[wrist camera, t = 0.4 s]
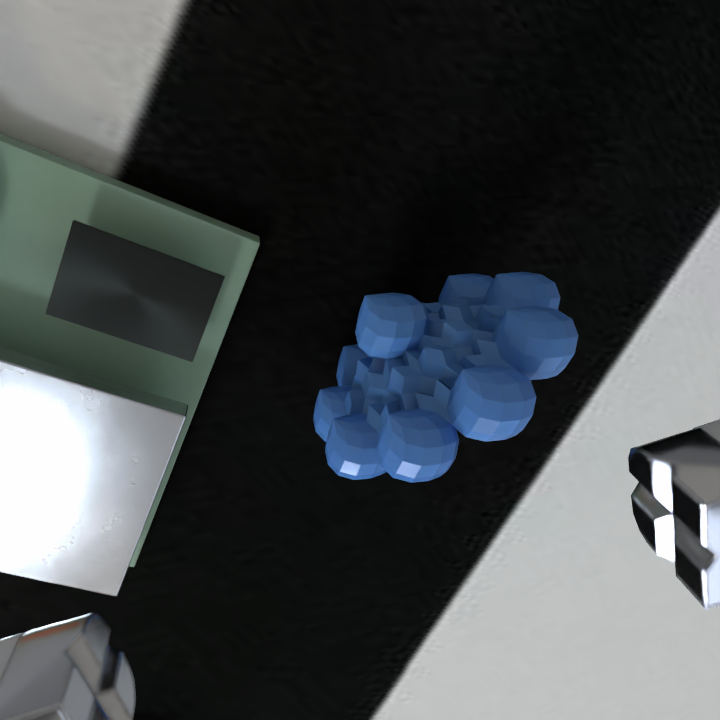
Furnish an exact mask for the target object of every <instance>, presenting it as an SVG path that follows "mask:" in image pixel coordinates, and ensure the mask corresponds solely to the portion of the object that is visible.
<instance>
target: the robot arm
mask: <svg viewBox="0 0 720 720" xmlns="http://www.w3.org/2000/svg"><path fill="white" fill-rule="evenodd" d="M628 459H629V472H630V473H631V474H632V475H633V476H634V477H635V478H636V479H637V480H638V481H639V483H638V484H637V486H636V488H635V490H634V491H633V493H632V495H631V498H632V507H633V514H634V517H635V519H636V522H637V525H638V527H639V530H640V532H641V534H642V535H643V537H644V538H645V540H646V542H647V543H648V544H649V546H650V547H651V548H652V549H653V550H654V551H655V553H656V554H657V555H659V556H661V557H664V558H667V559H669V560H672V561H675V568H676V577H677V578H678V579H679V580H680V581H681V582H682V583H683V584H684V585H685V587H686V588H687V589H688V590H689V591H690V592H691V593H692V594H693V596H694V597H695V598H696V599H697V600H698V601H699V602H700V603H701V604H702V606H703V607H704V608H705V609H708V608H712V607H715V606H718V605H720V419H719V420H716V421H713V422H710V423H707V424H704V425H701V426H698V427H695V428H693V430H689V431H686V432H683V433H679V434H676V435H673V436H670V437H667V438H663V439H660V440H657V441H654V442H650V443H647V444H644V445H641V446H638V447H634V448H631V450H630V454H629V457H628ZM110 634H111V630H110V628H109V626H108V625H107V623H106V621H105V620H104V618H103V617H102V615H101V614H97V613H90V614H86V615H82V616H79V617H75V618H72V619H68V620H65V621H61V622H58V623H54V624H50V625H47V626H43V627H40V628H36V629H33V630H29V631H26V632H25V633H20V634H17V635H13V636H10V637H6V638H3V639H0V720H133V717H134V711H135V704H136V695H135V680H134V677H133V673H132V670H131V667H130V664H129V662H128V660H127V658H126V657H125V655H124V653H123V652H121V651H119V650H117V649H115V648H113V647H110V646H108V642H109V638H110Z"/></svg>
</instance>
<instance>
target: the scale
mask: <svg viewBox="0 0 720 720" xmlns="http://www.w3.org/2000/svg"><path fill="white" fill-rule="evenodd" d="M73 220H76V221H79V222H82V223H84V224H87V225H90V226H92V227H95V228H98V229H100V230H103V231H106V232H108V233H111V234H114V235H116V236H119V237H122V238H124V239H127V240H130V241H132V242H135V243H138V244H140V245H143V246H146V247H148V248H151V249H154V250H157V251H159V252H162V253H165V254H167V255H170V256H173V257H175V258H178V259H181V260H183V261H186V262H189V263H191V264H194V265H197V266H199V267H202V268H205V269H207V270H210V271H213V272H215V273H218V274H221V275H223V276H225V278H224V281H223V283H222V286H221V289H220V291H219V294H218V296H217V299H216V302H215V304H214V307H213V310H212V312H211V315H210V318H209V320H208V323H207V326H206V328H205V331H204V333H203V336H202V339H201V341H200V344H199V347H198V349H197V352H196V355H195V357H194V360H193V362H190V361H187V360H184V359H181V358H178V357H175V356H172V355H169V354H166V353H163V352H160V351H157V350H154V349H151V348H147V347H144V346H141V345H138V344H135V343H132V342H129V341H126V340H123V339H120V338H117V337H114V336H111V335H108V334H105V333H102V332H99V331H96V330H93V329H90V328H87V327H84V326H80V325H77V324H74V323H71V322H68V321H65V320H62V319H59V318H56V317H53V316H50V315H47V314H45V313H46V310H47V306H48V303H49V300H50V296H51V293H52V289H53V286H54V283H55V279H56V276H57V272H58V269H59V266H60V262H61V259H62V256H63V252H64V249H65V245H66V242H67V239H68V235H69V232H70V228H71V225H72V222H73ZM259 245H260V239H259V236H257V235H254V234H252V233H249V232H247V231H244V230H242V229H239V228H237V227H234V226H232V225H229V224H227V223H224V222H222V221H219V220H217V219H214V218H212V217H209V216H207V215H204V214H202V213H199V212H197V211H194V210H192V209H189V208H187V207H184V206H182V205H179V204H176V203H174V202H171V201H169V200H166V199H164V198H161V197H159V196H156V195H154V194H151V193H149V192H146V191H144V190H141V189H139V188H136V187H134V186H131V185H129V184H126V183H124V182H121V181H119V180H116V179H114V178H111V177H109V176H106V175H104V174H101V173H99V172H96V171H94V170H91V169H89V168H86V167H84V166H81V165H79V164H76V163H74V162H71V161H69V160H66V159H64V158H61V157H59V156H56V155H54V154H51V153H49V152H46V151H44V150H41V149H39V148H36V147H33V146H31V145H28V144H26V143H23V142H21V141H18V140H16V139H13V138H11V137H8V136H6V135H3V134H1V133H0V347H3V348H6V349H10V350H13V351H16V352H19V353H23V354H26V355H29V356H32V357H36V358H39V359H42V360H45V361H48V362H52V363H55V364H58V365H61V366H65V367H68V368H71V369H74V370H78V371H81V372H84V373H87V374H91V375H94V376H97V377H100V378H104V379H107V380H110V381H113V382H117V383H120V384H123V385H126V386H130V387H133V388H136V389H139V390H143V391H146V392H149V393H152V394H155V395H159V396H162V397H165V398H168V399H172V400H175V401H178V402H181V403H185V404H187V405H188V411H187V416H186V419H185V422H184V424H183V427H182V430H181V432H180V435H179V437H178V440H177V443H176V445H175V448H174V450H173V453H172V455H171V458H170V461H169V463H168V466H167V468H166V471H165V474H164V476H163V479H162V481H161V484H160V487H159V489H158V492H157V494H156V497H155V500H154V502H153V505H152V507H151V510H150V512H149V515H148V518H147V520H146V523H145V525H144V528H143V531H142V533H141V536H140V538H139V541H138V544H137V546H136V549H135V551H134V554H133V557H132V559H131V562H130V564H129V566H131V567H134V566H135V564H136V561H137V559H138V556H139V553H140V551H141V548H142V546H143V543H144V541H145V538H146V535H147V533H148V530H149V528H150V525H151V523H152V520H153V518H154V515H155V512H156V510H157V507H158V505H159V502H160V500H161V497H162V494H163V492H164V489H165V487H166V484H167V482H168V479H169V476H170V474H171V471H172V469H173V466H174V464H175V461H176V458H177V456H178V453H179V451H180V448H181V446H182V443H183V440H184V438H185V435H186V433H187V430H188V428H189V425H190V422H191V420H192V417H193V415H194V412H195V410H196V407H197V404H198V402H199V399H200V397H201V394H202V392H203V389H204V387H205V384H206V381H207V379H208V376H209V374H210V371H211V369H212V366H213V363H214V361H215V358H216V356H217V353H218V351H219V348H220V345H221V343H222V340H223V338H224V335H225V333H226V330H227V327H228V325H229V322H230V320H231V317H232V315H233V312H234V309H235V307H236V304H237V302H238V299H239V297H240V294H241V291H242V289H243V286H244V284H245V281H246V279H247V276H248V273H249V271H250V268H251V266H252V263H253V261H254V258H255V256H256V253H257V250H258V248H259Z"/></svg>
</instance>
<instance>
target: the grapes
mask: <svg viewBox="0 0 720 720" xmlns="http://www.w3.org/2000/svg"><path fill="white" fill-rule="evenodd" d="M559 302H560V295H559V292H558V290H557V287H556V284H555V283H554V282H553V281H551V280H550V279H548V278H546V277H545V276H543V275H541V274H535V273H528V272H515V273H505V274H497V275H496V276H495V278H494V279H493V278H492V277H490V276H488V275H481V274H461V275H451V276H448V278H447V280H446V282H445V285H444V287H443V289H442V291H441V293H440V295H439V300H438V303H421V302H419V301H418V300H417V299H415V298H414V297H412V296H411V295H406V294H400V293H382V294H373V295H365V297H364V300H363V302H362V305H361V308H360V311H359V315H358V320H357V325H356V331H355V334H356V338H357V342H358V344H354V345H348V346H344V347H343V350H342V352H341V355H340V358H339V363H338V369H337V374H336V376H337V381H338V386H336V387H329V388H325V389H321V390H320V391H319V394H318V397H317V400H316V405H315V411H314V417H313V420H314V425H315V430H316V433H317V434H318V435H319V436H320V437H321V438H322V439H323V440H324V441H326V447H325V452H326V457H327V462H328V465H329V466H330V467H331V468H332V469H333V470H334V471H335V472H336V473H337V475H339V476H342V477H346V478H349V479H353V480H357V479H367V478H372V477H375V476H378V475H381V474H383V473H385V472H386V471H387V472H388V473H389V474H390V475H391V476H392V477H393V478H396V479H400V480H404V481H407V482H421V481H429V480H432V479H435V478H437V477H440V476H442V475H443V474H444V473H445V472H446V471H447V470H448V469H449V468H450V466H451V464H452V463H453V461H454V459H455V458H456V453H457V448H458V443H459V438H458V435H457V431H456V429H457V430H458V431H459V432H461V433H462V434H463V435H464V436H465V437H468V438H473V439H477V440H481V441H485V442H486V441H496V440H505V439H508V438H510V437H513V436H516V435H517V434H518V433H519V432H521V431H522V430H523V429H524V427H525V426H526V424H527V423H528V421H529V420H530V418H531V417H532V415H533V411H534V407H535V402H536V394H535V391H534V388H533V385H532V383H531V380H536V379H547V378H550V377H553V376H557V375H558V374H559V373H560V372H561V371H562V370H563V369H564V368H565V367H566V366H567V364H568V363H569V361H570V360H571V358H572V357H573V355H574V353H575V349H576V344H577V340H578V333H577V330H576V328H575V325H574V323H573V320H572V319H571V318H569V317H568V316H566V315H565V314H563V313H562V312H560V311H558V307H559Z"/></svg>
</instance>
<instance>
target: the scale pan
mask: <svg viewBox="0 0 720 720" xmlns="http://www.w3.org/2000/svg"><path fill="white" fill-rule="evenodd" d="M224 278H225V276H223V275H221V274H218V273H215V272H213V271H210V270H207V269H205V268H202V267H199V266H197V265H194V264H191V263H189V262H186V261H183V260H181V259H178V258H175V257H173V256H170V255H167V254H165V253H162V252H159V251H157V250H154V249H151V248H148V247H146V246H143V245H140V244H138V243H135V242H132V241H130V240H127V239H124V238H122V237H119V236H116V235H114V234H111V233H108V232H106V231H103V230H100V229H98V228H95V227H92V226H90V225H87V224H84V223H82V222H79V221H76V220H73V222H72V225H71V228H70V232H69V235H68V239H67V242H66V245H65V249H64V252H63V256H62V259H61V262H60V266H59V269H58V272H57V276H56V279H55V283H54V286H53V289H52V293H51V296H50V300H49V303H48V306H47V310H46V313H45V314H47V315H50V316H53V317H56V318H59V319H62V320H65V321H68V322H71V323H74V324H77V325H80V326H84V327H87V328H90V329H93V330H96V331H99V332H102V333H105V334H108V335H111V336H114V337H117V338H120V339H123V340H126V341H129V342H132V343H135V344H138V345H141V346H144V347H147V348H151V349H154V350H157V351H160V352H163V353H166V354H169V355H172V356H175V357H178V358H181V359H184V360H187V361H190V362H193V360H194V357H195V355H196V352H197V349H198V347H199V344H200V341H201V339H202V336H203V333H204V331H205V328H206V326H207V323H208V320H209V318H210V315H211V312H212V310H213V307H214V304H215V302H216V299H217V296H218V294H219V291H220V289H221V286H222V283H223V281H224ZM187 411H188V405H187V404H185V403H181V402H178V401H175V400H172V399H168V398H165V397H162V396H159V395H155V394H152V393H149V392H146V391H143V390H139V389H136V388H133V387H130V386H126V385H123V384H120V383H117V382H113V381H110V380H107V379H104V378H100V377H97V376H94V375H91V374H87V373H84V372H81V371H78V370H74V369H71V368H68V367H65V366H61V365H58V364H55V363H52V362H48V361H45V360H42V359H39V358H36V357H32V356H29V355H26V354H23V353H19V352H16V351H13V350H10V349H6V348H3V347H0V572H4V573H9V574H14V575H18V576H23V577H28V578H32V579H37V580H42V581H46V582H51V583H56V584H60V585H65V586H70V587H75V588H79V589H84V590H89V591H93V592H98V593H103V594H107V595H112V596H117V595H118V593H119V590H120V588H121V585H122V582H123V580H124V577H125V575H126V572H127V569H128V567H129V564H130V562H131V559H132V557H133V554H134V551H135V549H136V546H137V544H138V541H139V538H140V536H141V533H142V531H143V528H144V525H145V523H146V520H147V518H148V515H149V512H150V510H151V507H152V505H153V502H154V500H155V497H156V494H157V492H158V489H159V487H160V484H161V481H162V479H163V476H164V474H165V471H166V468H167V466H168V463H169V461H170V458H171V455H172V453H173V450H174V448H175V445H176V443H177V440H178V437H179V435H180V432H181V430H182V427H183V424H184V422H185V419H186V416H187Z"/></svg>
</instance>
